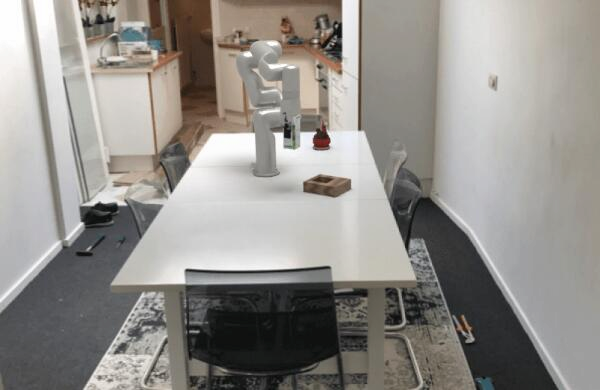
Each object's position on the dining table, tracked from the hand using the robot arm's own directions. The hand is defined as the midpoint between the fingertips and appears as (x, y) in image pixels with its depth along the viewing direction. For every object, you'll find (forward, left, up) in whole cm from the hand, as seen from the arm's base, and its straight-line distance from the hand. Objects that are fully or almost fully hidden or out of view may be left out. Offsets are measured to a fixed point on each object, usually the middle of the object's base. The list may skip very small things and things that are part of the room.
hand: (291, 136), depth 280 cm
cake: (-27, +71, -24) cm, 80 cm away
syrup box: (0, 0, -5) cm, 5 cm away
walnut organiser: (+14, +6, -24) cm, 28 cm away
